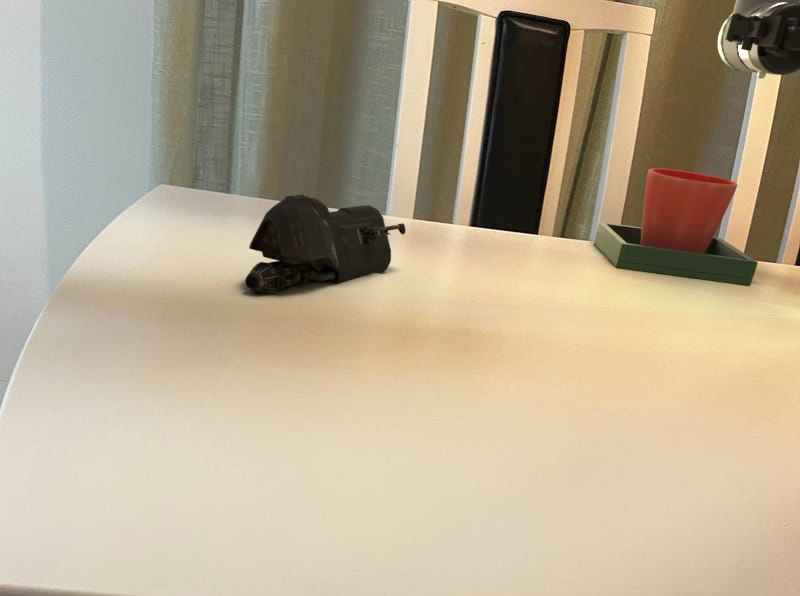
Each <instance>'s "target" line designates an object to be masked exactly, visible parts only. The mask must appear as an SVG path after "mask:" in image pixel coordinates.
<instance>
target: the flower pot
mask: <svg viewBox="0 0 800 596" xmlns="http://www.w3.org/2000/svg"><path fill="white" fill-rule="evenodd" d="M737 188H738V183H737V182H736V181H732V180H730V179H727V178H722V177H718V176H713V175H708V174H703V173H699V172H698V173H697V172H693V171H687V170H682V169H681V170H680V169H673V168H664V167H663V168H661V167H654V168H653V167H652V168H649V169H648V171H647V176H646V183H645V191H644V198H643V199H644V200H643V208H642V216H641V217H642V218H641V228H642V229H641V243H640V245H642V246H650V247H657V248H665V249H672V250H679V251H687V252H694V253H702V254H705V252H706V250H707V248H708V246H709V244H710V242H711V240H712V238H713V237H714V236H715V234H716V233H717V230H718V228H719V227H720V225H721V222H722V220H723V218H724V216H725V215H726V213H727V210H728V208H729V205H730V203H731V201H732V199H733V197H734V195H735V193H736V190H737Z"/></svg>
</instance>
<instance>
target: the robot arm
mask: <svg viewBox="0 0 800 596" xmlns="http://www.w3.org/2000/svg"><path fill="white" fill-rule="evenodd" d="M717 51H718V54H719V56H720V59H721V60H722V61H723V63H725V65H727V66H728V67H730V68H733V69H734V70H735V71H736V72H737V71H738V72H743V73H757V78H758V79H765V77H766V75H767V74H768V75H776V76H786V75H790V74H795V73H796V72H798V71H799V70H800V0H735V3H734V7H733V11H732V13H731V14H730V15H729V16H728V17H727V18H726V20H725V21H724V22H723V24H722V26H721V28H720V30H719V32H718V37H717Z"/></svg>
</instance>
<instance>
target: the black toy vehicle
mask: <svg viewBox="0 0 800 596" xmlns="http://www.w3.org/2000/svg"><path fill="white" fill-rule="evenodd" d="M394 230H398V232H399V234H401V235H402V236H403V235H404V234H406V225H405V223H403V222H402V223H398V224H394V225H393V224H392V225H388V226H387V225H386V224H385V219H384V216H383V215H382V213H381V212H380V210H379V209H378V208H376V207H373V206H372V205H369V204H368V205H367V204H365V205H358V206H357V205H356V206H349V207H342V208H339V209H338V210H335V211H330V210H329V207H328V206H327V205H326V204H324V203H323V202H322V201H321V200H320V199H317V198H315V197H309V196H308V195H304V194H296V195H295V194H294V195H287V196H285V198H284V199H282V200H280V201H279V202H277V203H276V204H275V205H273V206H272V207H271V208H270V209H269V210H267V212H266V213H265V215H264V216H263V218H262V219H261V222H260V224H259V226H258V228H257V230H256V232H255V234H254V235H253V237H252V239H251V242H250V243H249V247H248V248H249V249H250V250H253V251H256V252H261V254H262V257H263V258H266V259H270V260H274V261H271V262H265V261H259V262H258V263H256V264H255V265H254V266H253V267H252V269H251V270H250V271H249V273H248V274H247V276H246V277H245V286H246V287H247V288H248V289H249V290H250V291H252V292H254V293H256V292H257V293H260V294H263V295H274V294H275V293H277V292H282V291H286V290H290V289H291V288H292V287H294V286H299V285H302V284H304V283H309V281H310V280H313V281H318V282H326V281H329V282H331V283H334V284H339V283H343V282H346V281H351V280H354V279H357V278H361V277H364V276H368V275H371V274H381V273H384V272H387V270H388V268H389V266H390V264H391V262H392V248H391V245H390V241H389V235H391V233H390V232H389V231H394Z"/></svg>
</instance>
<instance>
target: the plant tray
mask: <svg viewBox="0 0 800 596" xmlns="http://www.w3.org/2000/svg"><path fill="white" fill-rule="evenodd" d="M641 229H642V227H638V226H632V225H624V224H617V223H608V222H603V221H599V222H598V225H597V229H596V233H595V237H594V241H593V245H595V247H596V248H597V249H598V250H599V251H600V252H601V253H602V254H603V255H604V256H605V257H606V258H607V260H608V261H609V262H610V263H611V264H612V265H613V266H614V267H615V268H616V269H622V270H623V269H624V270H630V271H631V270H632V271H638V272H644V273H645V272H646V273H653V274H660V275H666V276H667V275H668V276H675V277H681V278H688V279H689V278H690V279H695V280H696V279H697V280H705V281H712V282H718V283H719V282H720V283H727V284H732V285H733V284H734V285H735V284H736V285H742V286H749V287H750V286H751V285H752V281H753V278H754V276H755V273H756V270H757V267H758V264H759V263H758V261H757V260H755V259H754V258H752V257H751V256H749V255H748V254H746V253H744V252H743V251H741V250H740V249H738V248H736V246H734V245H732V244H730V243H729V242H728V241H725V240H724V239H722V238H720V237H714V236H713V238H712V240H711V242H710V244H709V246H708V248H707V250H706V252H705V254H702V253H694V252H687V251H679V250H672V249H665V248H657V247H650V246H642V245H640V243H641Z"/></svg>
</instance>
